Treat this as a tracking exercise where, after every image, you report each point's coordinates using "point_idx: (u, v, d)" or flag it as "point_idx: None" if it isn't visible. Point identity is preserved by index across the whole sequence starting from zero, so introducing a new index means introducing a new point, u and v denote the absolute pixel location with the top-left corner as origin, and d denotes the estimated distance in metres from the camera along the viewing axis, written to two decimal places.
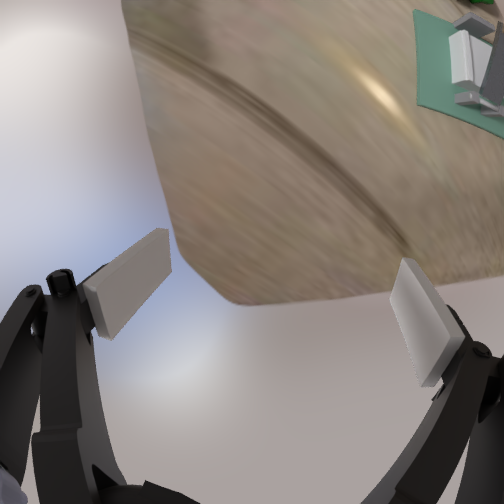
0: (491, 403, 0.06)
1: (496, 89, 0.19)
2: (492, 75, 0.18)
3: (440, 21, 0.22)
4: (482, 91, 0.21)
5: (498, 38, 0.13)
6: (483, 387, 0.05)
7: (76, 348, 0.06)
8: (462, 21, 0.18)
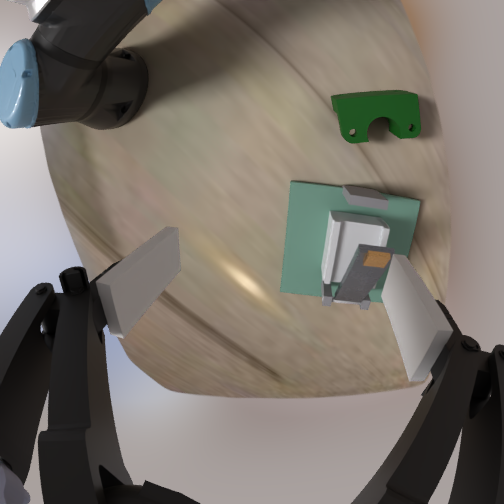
0: (483, 398, 0.06)
1: (353, 295, 0.34)
2: (345, 289, 0.33)
3: (323, 190, 0.37)
4: (335, 296, 0.36)
5: (352, 264, 0.28)
6: (473, 381, 0.05)
7: (87, 347, 0.07)
8: (345, 196, 0.34)
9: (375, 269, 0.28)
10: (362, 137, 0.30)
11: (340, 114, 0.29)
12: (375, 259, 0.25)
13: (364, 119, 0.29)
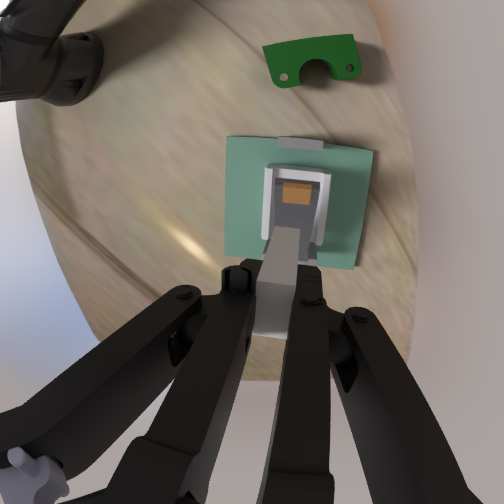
0: (354, 365, 0.09)
1: None
2: None
3: (260, 142, 0.35)
4: None
5: (274, 204, 0.26)
6: (327, 334, 0.08)
7: (232, 361, 0.07)
8: None
9: (303, 210, 0.26)
10: (294, 81, 0.28)
11: (268, 60, 0.26)
12: (293, 193, 0.23)
13: (294, 63, 0.26)
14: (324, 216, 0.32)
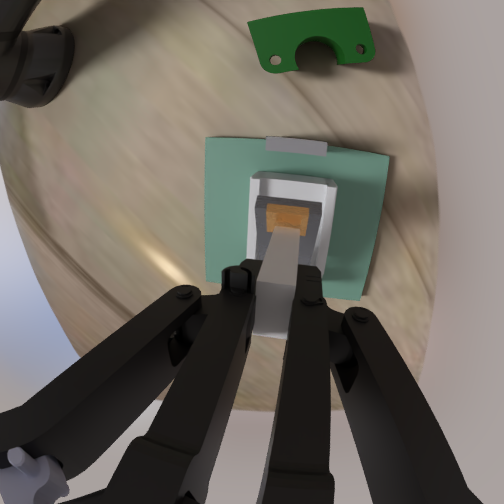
0: (354, 365, 0.09)
1: None
2: None
3: (247, 144, 0.27)
4: None
5: (257, 232, 0.19)
6: (327, 334, 0.08)
7: (232, 361, 0.07)
8: None
9: None
10: (288, 64, 0.20)
11: (254, 38, 0.19)
12: (282, 219, 0.16)
13: (289, 42, 0.19)
14: (327, 241, 0.25)
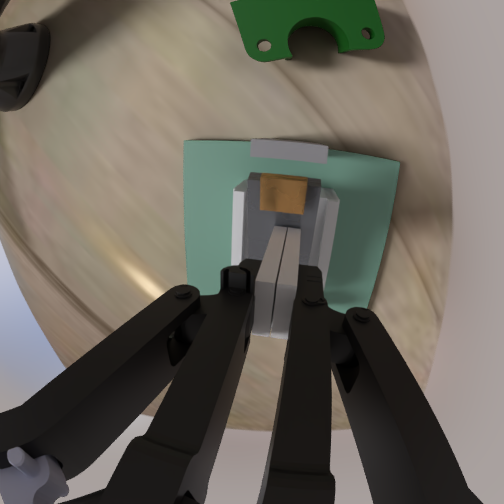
0: (355, 365, 0.09)
1: None
2: None
3: (232, 148, 0.23)
4: None
5: (248, 220, 0.17)
6: (328, 335, 0.08)
7: (231, 361, 0.07)
8: None
9: None
10: (280, 50, 0.16)
11: (239, 21, 0.15)
12: (278, 190, 0.14)
13: (280, 23, 0.15)
14: (325, 266, 0.21)
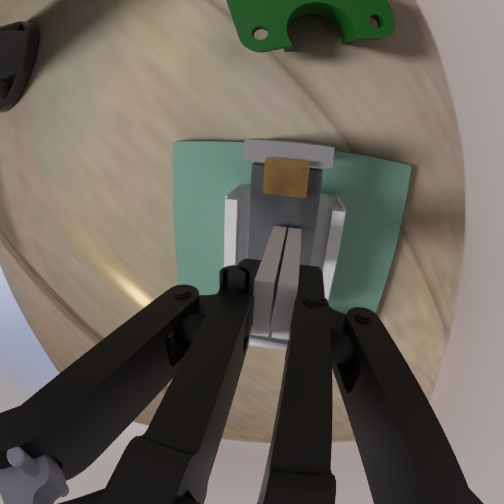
0: (356, 365, 0.09)
1: None
2: None
3: (225, 150, 0.21)
4: None
5: (250, 210, 0.16)
6: (329, 335, 0.08)
7: (230, 361, 0.07)
8: None
9: (296, 220, 0.16)
10: (278, 38, 0.14)
11: (231, 7, 0.13)
12: (281, 171, 0.14)
13: (278, 9, 0.12)
14: (329, 283, 0.18)
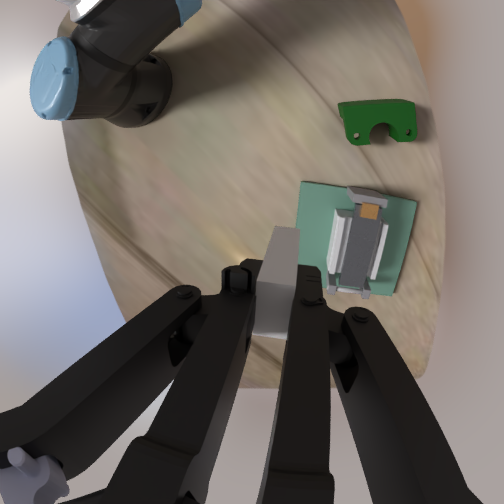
0: (354, 365, 0.09)
1: (355, 274, 0.40)
2: (348, 263, 0.39)
3: (329, 190, 0.41)
4: (339, 280, 0.41)
5: (352, 223, 0.36)
6: (327, 334, 0.08)
7: (232, 361, 0.07)
8: (349, 195, 0.38)
9: (370, 228, 0.36)
10: (365, 140, 0.34)
11: (346, 119, 0.33)
12: (368, 208, 0.34)
13: (367, 124, 0.33)
14: (380, 257, 0.38)
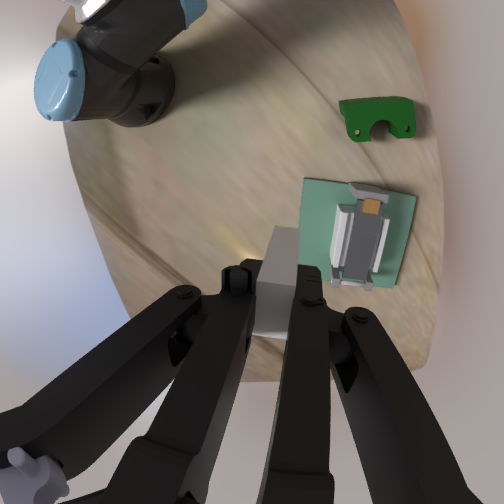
0: (354, 365, 0.09)
1: (358, 267, 0.41)
2: (351, 257, 0.40)
3: (331, 186, 0.42)
4: (342, 273, 0.42)
5: (354, 218, 0.38)
6: (327, 334, 0.08)
7: (232, 361, 0.07)
8: (351, 191, 0.39)
9: (372, 222, 0.37)
10: (365, 137, 0.35)
11: (347, 117, 0.34)
12: (370, 204, 0.35)
13: (367, 122, 0.34)
14: (381, 250, 0.40)
